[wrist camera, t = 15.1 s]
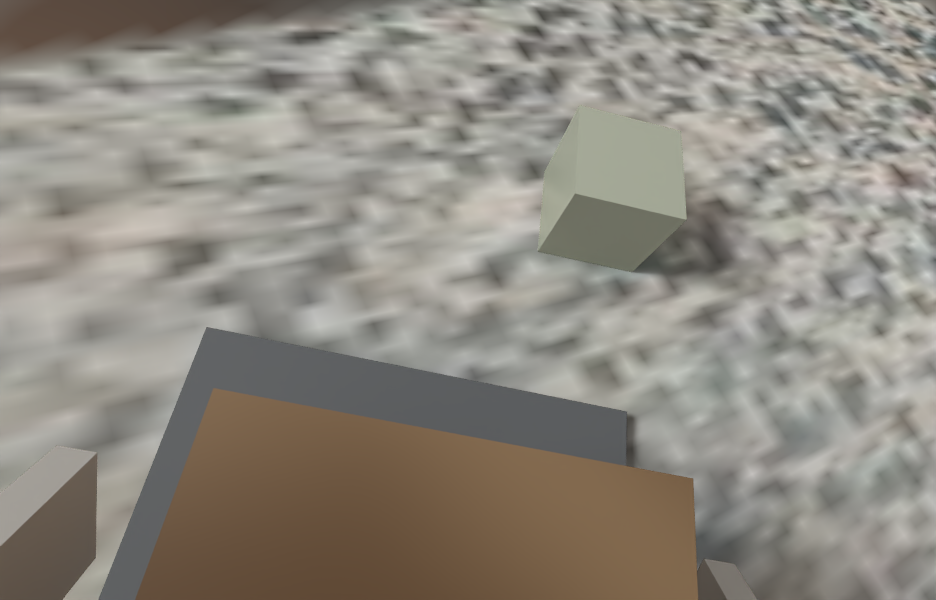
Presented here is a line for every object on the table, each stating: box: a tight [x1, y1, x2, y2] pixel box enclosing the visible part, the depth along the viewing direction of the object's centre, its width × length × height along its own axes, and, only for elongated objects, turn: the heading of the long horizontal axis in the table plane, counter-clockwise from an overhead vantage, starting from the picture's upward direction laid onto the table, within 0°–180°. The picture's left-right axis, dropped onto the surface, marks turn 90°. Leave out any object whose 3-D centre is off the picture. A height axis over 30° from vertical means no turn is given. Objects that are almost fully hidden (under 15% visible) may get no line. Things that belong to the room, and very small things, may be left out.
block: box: [538, 105, 687, 272], centre depth 23 cm, size 4×4×4 cm
